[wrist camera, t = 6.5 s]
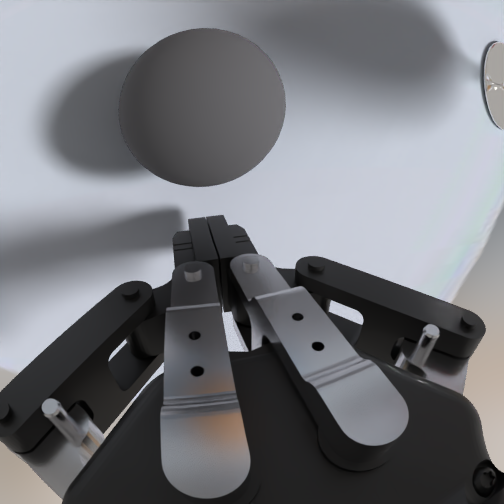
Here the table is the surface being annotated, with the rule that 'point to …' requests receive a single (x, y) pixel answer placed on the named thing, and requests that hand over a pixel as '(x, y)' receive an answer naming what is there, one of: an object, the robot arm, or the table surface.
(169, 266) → the table surface
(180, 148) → the gray ball
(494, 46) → the wineglass
